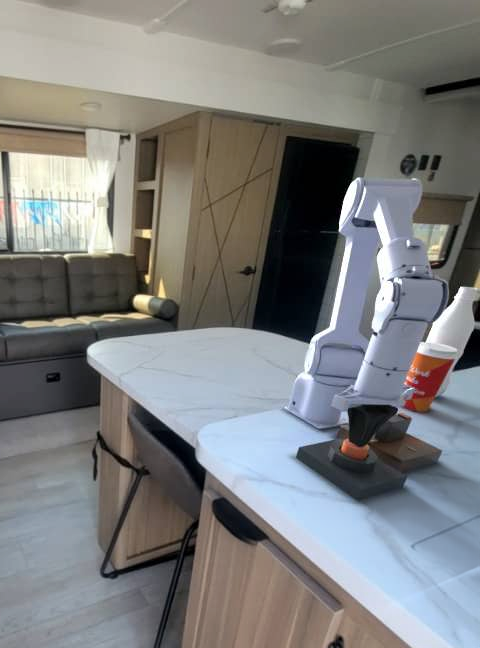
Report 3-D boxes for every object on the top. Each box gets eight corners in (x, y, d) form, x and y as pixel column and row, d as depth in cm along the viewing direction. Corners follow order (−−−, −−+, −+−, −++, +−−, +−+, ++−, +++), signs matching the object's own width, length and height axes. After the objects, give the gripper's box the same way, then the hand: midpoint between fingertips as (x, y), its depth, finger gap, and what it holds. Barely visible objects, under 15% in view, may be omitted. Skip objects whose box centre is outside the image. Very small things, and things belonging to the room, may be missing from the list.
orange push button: (335, 449, 66) (338, 440, 66) (351, 445, 68) (354, 436, 67) (355, 461, 63) (358, 452, 63) (371, 457, 65) (375, 448, 64)
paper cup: (385, 397, 95) (407, 339, 89) (420, 400, 94) (445, 342, 88) (403, 412, 88) (428, 351, 82) (441, 415, 87) (470, 354, 81)
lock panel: (336, 437, 77) (340, 425, 76) (373, 429, 80) (377, 417, 79) (397, 473, 67) (403, 460, 66) (437, 462, 70) (443, 449, 69)
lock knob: (384, 442, 71) (393, 421, 69) (374, 436, 73) (382, 416, 71) (404, 438, 73) (412, 417, 71) (393, 432, 74) (401, 412, 73)
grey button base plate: (295, 457, 70) (301, 438, 69) (337, 448, 74) (344, 429, 72) (357, 501, 60) (365, 479, 59) (402, 487, 64) (412, 466, 62)
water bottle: (432, 402, 93) (481, 292, 82) (399, 390, 99) (441, 285, 88) (448, 396, 96) (497, 290, 85) (416, 385, 102) (458, 284, 91)
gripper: (376, 379, 53) (345, 465, 59) (448, 368, 58) (412, 448, 64) (331, 361, 59) (307, 440, 65) (400, 352, 64) (371, 427, 70)
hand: (356, 443), depth 65 cm, fingers closed
